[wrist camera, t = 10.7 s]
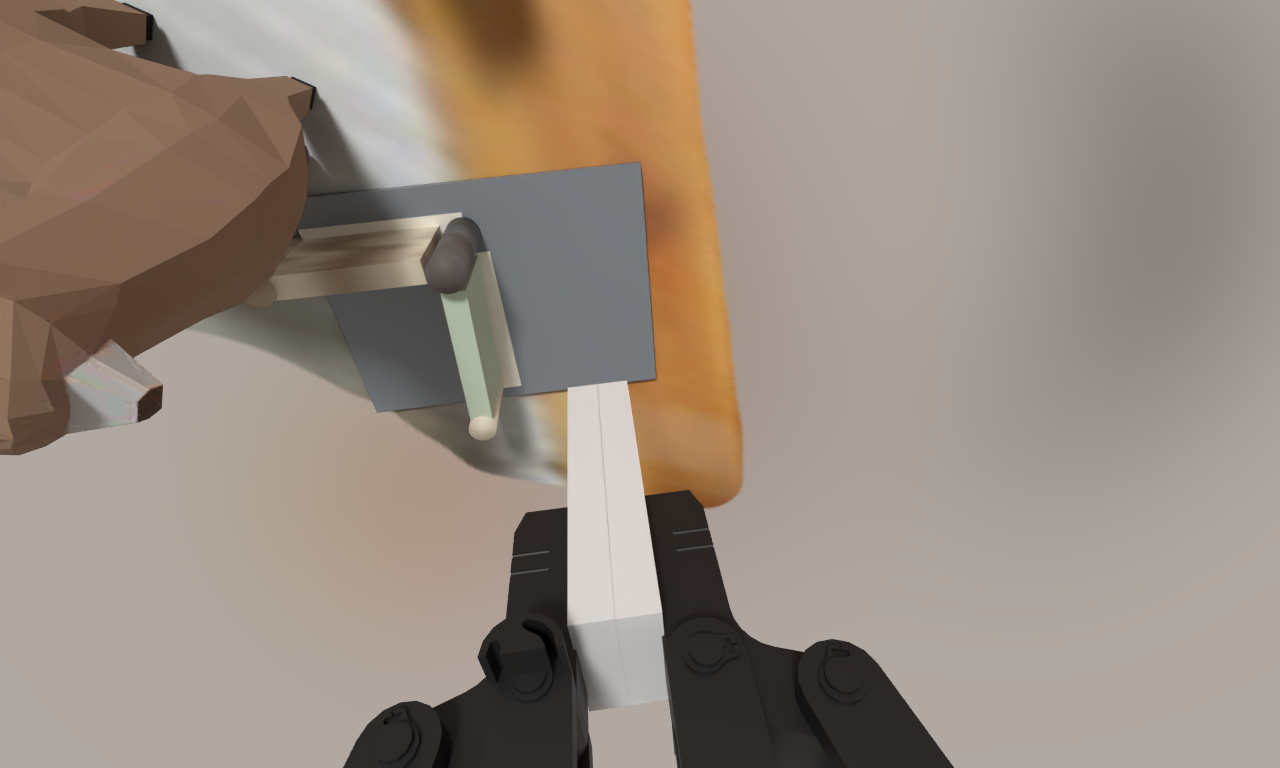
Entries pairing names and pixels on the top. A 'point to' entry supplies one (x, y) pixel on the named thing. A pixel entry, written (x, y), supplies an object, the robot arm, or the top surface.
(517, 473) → the top surface
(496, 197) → the card
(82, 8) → the toy
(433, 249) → the fixed fence section
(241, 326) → the top surface
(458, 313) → the pale green flat piece
